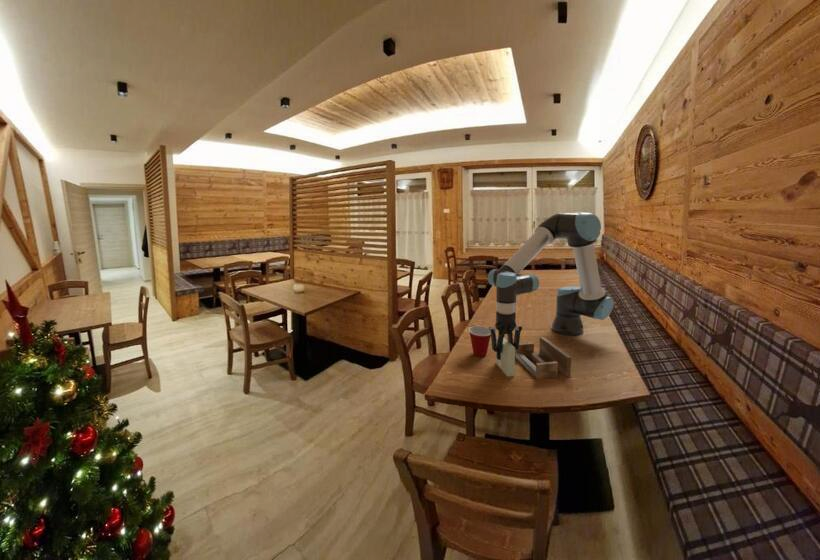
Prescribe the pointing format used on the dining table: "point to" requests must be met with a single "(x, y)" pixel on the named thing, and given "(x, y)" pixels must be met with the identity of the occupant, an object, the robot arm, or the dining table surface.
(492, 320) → the dining table surface
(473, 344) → the plastic cup
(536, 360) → the track
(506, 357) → the door panel
